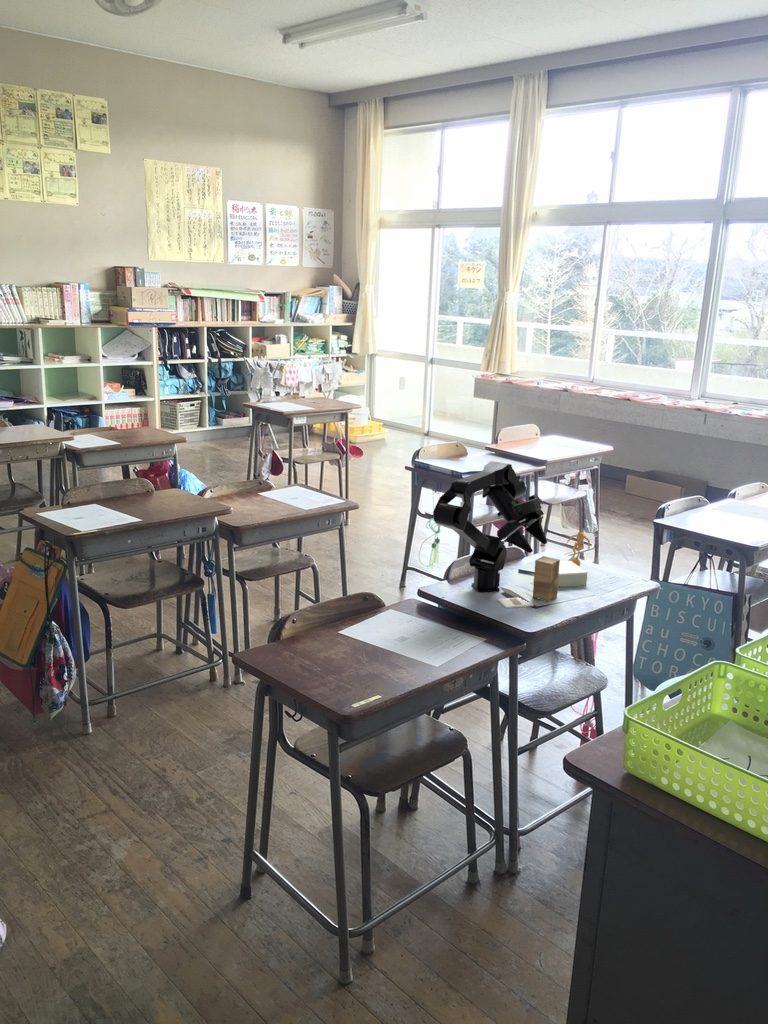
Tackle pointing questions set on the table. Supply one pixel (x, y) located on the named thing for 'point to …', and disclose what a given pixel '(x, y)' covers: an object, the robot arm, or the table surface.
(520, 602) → the card
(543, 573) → the walnut block
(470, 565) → the robot arm
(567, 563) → the base block
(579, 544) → the figurine
